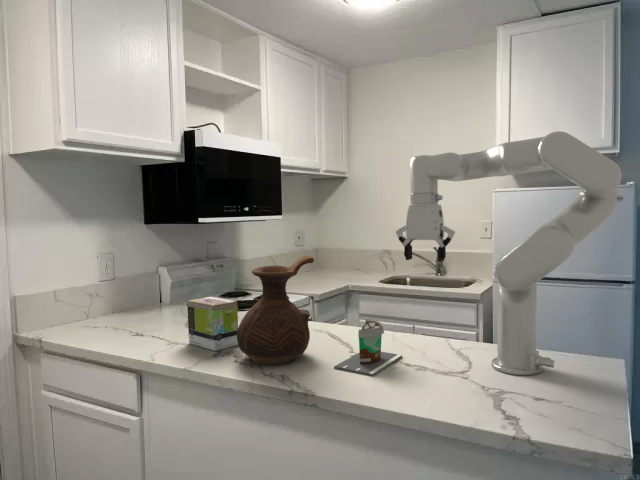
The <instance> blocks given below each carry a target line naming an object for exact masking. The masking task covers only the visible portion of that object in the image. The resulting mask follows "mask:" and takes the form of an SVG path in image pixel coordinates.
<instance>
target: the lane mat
mask: <svg viewBox="0 0 640 480" xmlns="http://www.w3.org/2000/svg"><path fill="white" fill-rule="evenodd" d="M402 358H403V354H398V353H393V352H392V353H391V352H386V351H385V352H384V351H381V357H380V361H379V362H377V363H373V364H360V352H358V353H356V354H354V355H353V356H351V357H349V358H346V359H344V360H343V361H341V362H339V363H338V364H336V365H334V366H333V369H335V370H340V371H344V372H350V373H354V374H355V373H356V374H358V375H359V374H360V375H365V376H369V377H374V376H376V375H378V373H380V372H382V371H383V370H385V369H386V368H388V367H389V366H391V365H393V364H394V363H396V362H397V361H398V360H400V359H402Z"/></svg>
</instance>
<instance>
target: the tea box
mask: <svg viewBox="0 0 640 480" xmlns="http://www.w3.org/2000/svg"><path fill="white" fill-rule="evenodd" d="M186 308H187V324H188V325H187V327H188V343H189V344H191V345H194V346H196V347H197V346H198V347H201V348H204V349H207V350H211V351H213V352H216V351H217V352H218V351H221V350H225V349H228V348H232V347H236V346H238V342H237V331H238V327H239V315H238V314H239V313H238V309H239V308H238V300H234V299H227V298H224V297H223V298H222V297H216V296H207V297H201V298H194V299H189V300H187V307H186Z"/></svg>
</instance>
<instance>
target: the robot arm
mask: <svg viewBox="0 0 640 480" xmlns="http://www.w3.org/2000/svg"><path fill="white" fill-rule="evenodd" d="M409 169H410V170H409V171H410V172H409V173H410V175H409V176H410V177H409V178H410V181H409V182H410V183H409V184H410V187H409V188H410V205H408V208H407V213H406V220H405V225H404V226H402V227H400V228H399V229H396V231H395V234H396V236H397V238H398V240H399V242H400V243H401V244H402V246H403V247H404V248H403V249H404V254H403V255H404V257H405V260H406V261H410V260H413V245H411V244H412V243H413V242H414V241H435V242H436V243H437V244H438V247H437V261H438V262H440V263H441V262H444V261H445V259H446V257H447V254H446V253H447V252H446V251H447V249H446V247H447V246H448V245H449V244H450V243H451V241H452V240H453V238H454V236H455V235H456V231H455V230H453V229H452V228H449V227H447V226H446V225H445V221H444V214H443V208H442V204H439V202H440V201H443V198H444V197H443V195H440V194H439V190H438V186H439V185H438V181H440V180H441V181H449V182H463V181H470V180H471V181H472V180H477V179H485V178H492V177H506V176H513V175H519V174H520V175H521V174H528V173H536V172H543V171H550V170H551V171H552V170H554V171H555V172H557V173H558V174H560V175H561V176H563V177H565V178H566V179H567V180H569V181H570V182H571V183H573V184H575V185H576V186H578V187H579V190H580V191H579V194H578V196H577V198H576V199H575V200H574V201H573V202H571V203H570V204H569V205H568V206H567V207H565V208H564V209H563V210H562V211H561V212H560V213H558V214H557V215H556V216H555V217H553V218H552V219H550V220H549V221H548V222H546V223H545V224H542V225H541V226H540V227H538V228H537V229H536V230H535V231H534V232H533V233H532V234H530V236H528V237H527V238H526V239H524V240H523V241H522V242H520V243H519V244H518V245H517V246H516V247H514V248H513V249H512V250H509V251H506V252H505V253H504V254H502V255H501V257H499V259H498V261H497V263H496V264H495V268H494V270H495V271H494V276H495V279H496V282H497V357H495V358H493V359H492V360H491V367H492V368H493V369H495V370H497V371H499V372H501V373H505V374H509V375H516V376H530V375H537V374H539V373H541V372H543V367H547V368H553V369H554V368H555V360H554V359H551V357H547V356H546V357H544V356H542V355H540V350H537V310H538V309H537V297H538V296H537V295H538V293H537V288H538V287H537V286H538V282H539V281H541V280H542V279H543V278H545V277H546V276H547V275H550V274H551V272H553V271H554V270H556V269H557V268H559V266H561V265H562V264H564V263H565V261H567V260H568V259H569V258H570V257H571V255H573V252H574V250H575V247H576V246H577V245H578V244H580V243H581V242H582V241H583V240H585V239H586V238H588V237H589V236H590V235H591V234H592V233H593V232H595V231H596V230H598V229H599V228H600V227H602V225H603V224H605V222H607V220H608V219H609V218H610V216H612V213H613V212H614V209H615V207H616V205H617V200H618V198H619V196H618V195H619V193H618V192H619V190H618V187H619V186H620V184H621V181H622V177H623V176H622V171H621V168H620V166H619V165H618V164H617V163H616V162H615V161H613V160H612V159H610V158H609V157H607V156H606V155H604V154H602V153H601V152H599V151H597V150H596V149H594V148H592V146H589V145H588V144H586V143H584V142H583V141H581V140H580V139H578V138H577V137H575V136H573V135H572V134H570V133H568V132H566V131H561V130H560V131H553V132H550V133H547V134H546V135H544V136H539V137H535V138H529V139H521V140H514V141H508V142H503V143H499V144H497V145H496V146H494V147H493V148H489V149H485V150H482V151H475V152H469V153H463V154H458V153H456V152H444V153H440V154H433V155H429V154H428V155H425V154H423V155H421V154H420V155H415V156H413V157H411V159H410V160H409ZM404 232H405V236H404V235H403V233H404ZM445 233H446V234H447V236H446V238H445ZM444 238H445V239H444Z"/></svg>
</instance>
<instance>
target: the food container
mask: <svg viewBox="0 0 640 480" xmlns="http://www.w3.org/2000/svg"><path fill="white" fill-rule="evenodd" d="M384 333H385V329H384V326H383V323H382V322H379V321H378V320H370V319H365V324H364V325H363V326H362V328H361V329H358V334H357V335H358V349H359V352H358V353H360V364H373V363H377V362H379V361H380V357H381V352H382V336H383V334H384Z"/></svg>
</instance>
